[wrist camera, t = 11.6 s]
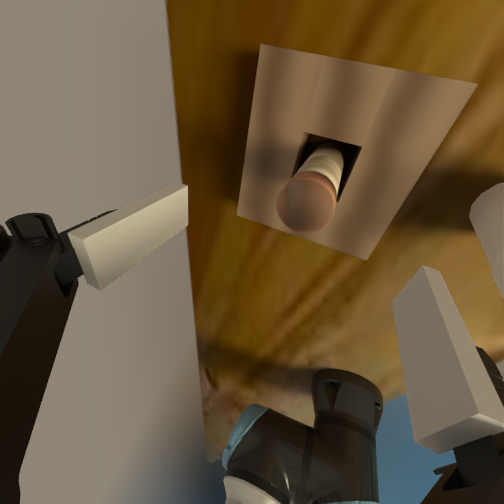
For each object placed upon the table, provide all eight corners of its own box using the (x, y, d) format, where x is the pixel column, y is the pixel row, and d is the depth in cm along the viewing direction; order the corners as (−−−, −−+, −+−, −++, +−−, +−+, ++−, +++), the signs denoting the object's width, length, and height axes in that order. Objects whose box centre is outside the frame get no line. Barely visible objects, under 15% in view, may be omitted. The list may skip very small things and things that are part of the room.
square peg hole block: (456, 86, 21) (478, 83, 17) (365, 240, 32) (366, 260, 28) (276, 51, 25) (260, 43, 21) (249, 202, 36) (236, 214, 32)
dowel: (351, 145, 27) (344, 189, 14) (337, 179, 29) (322, 240, 17) (317, 137, 28) (284, 171, 15) (307, 170, 30) (271, 223, 18)
